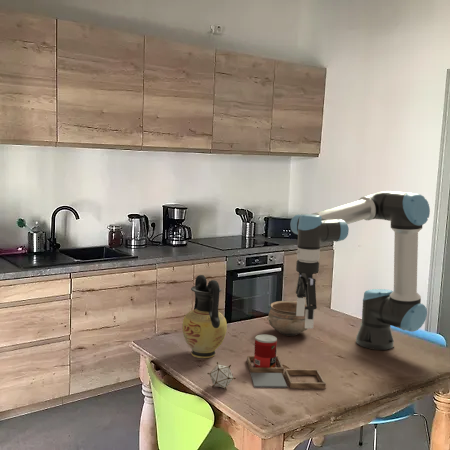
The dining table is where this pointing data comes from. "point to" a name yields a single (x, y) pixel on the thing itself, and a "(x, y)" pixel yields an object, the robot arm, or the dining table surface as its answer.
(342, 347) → the dining table surface
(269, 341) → the canned food
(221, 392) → the dining table surface
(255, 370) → the frame
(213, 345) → the amphora
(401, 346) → the dining table surface
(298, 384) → the empty crate
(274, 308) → the cooking pot
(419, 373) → the dining table surface
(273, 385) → the slate board
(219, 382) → the game die
